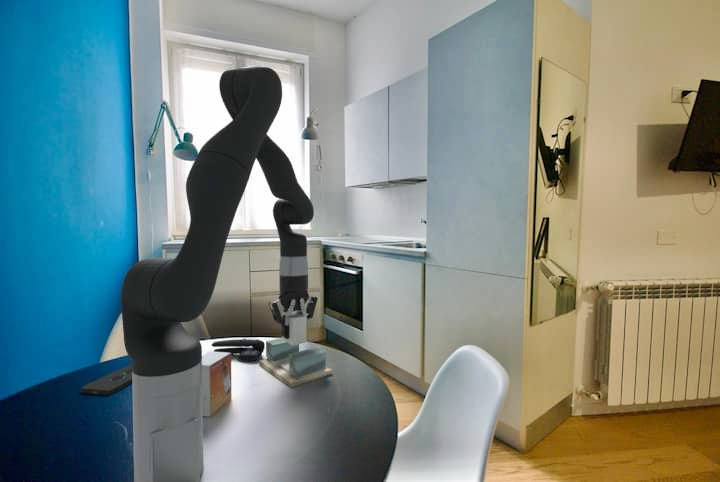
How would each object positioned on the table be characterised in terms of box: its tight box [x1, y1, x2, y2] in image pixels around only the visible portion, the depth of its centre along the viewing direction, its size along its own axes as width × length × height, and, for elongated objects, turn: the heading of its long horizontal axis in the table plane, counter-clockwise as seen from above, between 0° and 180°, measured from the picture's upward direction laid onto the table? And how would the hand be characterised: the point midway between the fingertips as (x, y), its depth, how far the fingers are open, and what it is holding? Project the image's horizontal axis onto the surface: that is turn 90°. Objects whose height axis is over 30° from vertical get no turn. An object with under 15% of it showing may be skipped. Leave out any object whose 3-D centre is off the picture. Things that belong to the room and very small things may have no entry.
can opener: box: [211, 337, 266, 362], centre depth 103 cm, size 18×7×6 cm, turn 72°
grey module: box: [281, 311, 307, 345], centre depth 93 cm, size 4×6×7 cm, turn 40°
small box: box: [202, 350, 232, 418], centre depth 73 cm, size 8×6×10 cm
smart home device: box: [80, 363, 132, 396], centre depth 89 cm, size 8×2×20 cm
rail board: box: [259, 337, 333, 388], centre depth 93 cm, size 18×12×6 cm, turn 40°
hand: (294, 336), depth 93 cm, fingers closed on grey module, 4 cm apart
